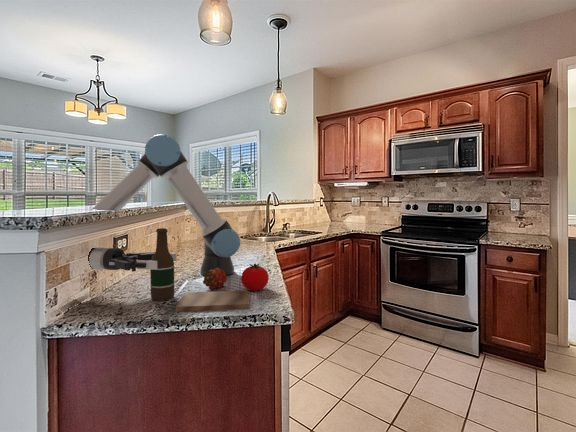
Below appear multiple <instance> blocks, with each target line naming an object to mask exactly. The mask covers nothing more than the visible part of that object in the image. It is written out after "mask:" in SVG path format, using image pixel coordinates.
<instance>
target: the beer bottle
mask: <svg viewBox="0 0 576 432" xmlns="http://www.w3.org/2000/svg"><path fill="white" fill-rule="evenodd" d="M155 232H156V247H155V251H154V252H155V254H154V255H153V256H152V259H151V260H150V261H157V269H156V270H152V269H149V270H150V271H149V272H150V273H149V274H150V275H149V276H150V297H151V300H152V301H157V302H162V301H169V300H171V299H172V298H174V297H175V261H174V260H173V258H172V256H171V254H170V253H171V252H170V250H169V245H168V244H169V243H168V229H167V228H163V227H162V228H161V227H160V228H156V231H155Z"/></svg>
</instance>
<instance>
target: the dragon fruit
mask: <svg viewBox="0 0 576 432" xmlns="http://www.w3.org/2000/svg"><path fill="white" fill-rule="evenodd" d="M227 280H228V276H227V275H226V274H225V272H224V271H223V270H221V269H220V268H215V269H214V268H213V269H211V270H209V271H208V272H205V273H204V276H203V281H202V283H203V284H204V285H205V286H206V287H209V288H210V289H211V290H213V291H214V290H216V289H217V288H220V289H222V288H224V286H225V282H226V281H227Z"/></svg>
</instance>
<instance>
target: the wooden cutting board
mask: <svg viewBox="0 0 576 432" xmlns="http://www.w3.org/2000/svg"><path fill="white" fill-rule="evenodd" d="M175 307H176V308H175V310H176V313H177V312H179V313H180V312H198V311H217V310H218V311H222V310H239V309H240V310H241V309H242V310H244V309H245V310H248V309H250V300H249V289H247V290H229V291H228V290H225V291H224V290H223V291H222V290H221V291H218V290H217V291H194V292H193V291H191V292H186V291H185V292H183V294H182V296H181V298H180V299H179V301H178V303H177V305H176V306H175Z"/></svg>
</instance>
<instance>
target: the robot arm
mask: <svg viewBox="0 0 576 432" xmlns="http://www.w3.org/2000/svg"><path fill="white" fill-rule="evenodd" d="M144 146H145V147H144V154H143V156H141V157H140V158H139V160H137V165H136V166H135V167H134V168H133V169H132V170H130V172H128V174H126V176H125V177H124V178H122V179H121V180H120V182H119V183H118V184H116V185H115V186H114V187H113V188H112V189H111V190H110V191H109V192H108V193H107V194H106V195H105V196H104V197H103V198H102V199H101V200H99V202H98V203H96V204H95V206H93V208H92V209H97V210H120V209H121V210H122V209H123V208H124V207H125V206H126V205H127V204H128V203H129V202H130V201H131V200H132V199H133V198H134V197H135V196H136V195H137V194H138V193H139V192H140V191H142V189H143V188H145V186H146V185H148V184H149V182H151V180H153V179H154V178H156V179H157V178H159V177H160V178H164V179H167V180H168V182H169V183H170V185H171V187H172V188H173V189H174V191H175V192H176V194H177V195H178V196H179V197H180V199H181V201H182V202H183V204H184V205H185V207H186V208H187V210H188V211H189V212H190V214H191V215H192V216H193V219H195V221H196V222H197V224H198V226H200V228H201V230H202V231H201V236H202V237H203V239H204V243H203V244H204V248H203V249H204V257H203V260H202V264H201V267H200V273H199V274H200V275H201V276H203V277H205V276H204V273H205V272H208V271H209V270H211V269H213V268H214V269H215V268H220V269H221V270H223V271H224V272H225V274H226V275H227V277H228V276H232V275H233V274H234V273H235V267H234V264H233V260H232V256H234V255H235V254H236V253H238V251H239V250H240V247H241V238H240V236H239V234H238V233H237V231H235V230H234V229H233V228H232V226H231V224H230V223H229V222H228V220H227V219H226V218H222V217H221V216H220V215H219V213H218V212H217V210H216V209H215V207H214V206H213V205H212V203H211V201H210V199H209V198H208V197H207V196H206V194H205V193H204V191H203V189H202V188H201V186H200V185H199V183H198V182H197V181H196V179H195V177H194V176H193V174H192V173H191V172H190V170H189V169H188V160H187V158H186V157H185V155H184V154H183V152H182V151H181V147H180V144H179V143H178V141H177V140H176V139H175V138H173V137H172V136H170V135H167V134H163V133H162V134H155V135H153V136H152V137H150V138H149V139H148V140H147V142H146V143H145V145H144ZM121 210H120V211H121ZM155 252H156V251H145V252H144V251H143V252H135V251H133V252H126V253H125V251H124V250H123V249H122V248H120V247H119V248H116V247H115V248H113V247H112V248H111V247H95V248H92V249H91V251H90V252H89V255H88V261H89V263H90V264H89V265H90V267H91V268H92V269H91V270H99V271H100V272H102V271H103V270H108V271H119V270H124V271H128V272H129V271H131V272H136V271H137V270H150V269H152V270H156V269H157V261H151V259H152V256H153V255H154V254H155ZM169 253H170V254H171V256H172V258H173V260H174V262H176V261H177V258H178V257H177V252H169ZM89 257H90V258H89Z"/></svg>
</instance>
